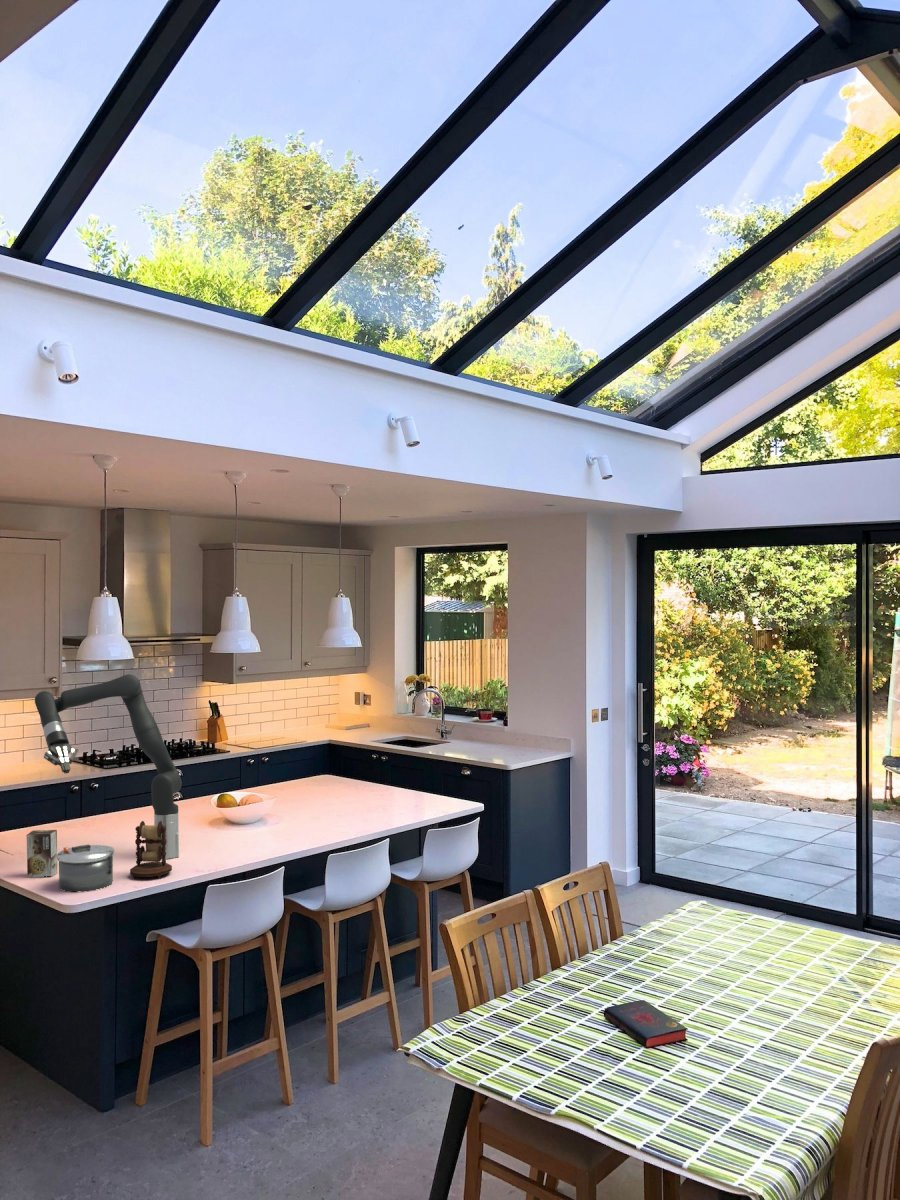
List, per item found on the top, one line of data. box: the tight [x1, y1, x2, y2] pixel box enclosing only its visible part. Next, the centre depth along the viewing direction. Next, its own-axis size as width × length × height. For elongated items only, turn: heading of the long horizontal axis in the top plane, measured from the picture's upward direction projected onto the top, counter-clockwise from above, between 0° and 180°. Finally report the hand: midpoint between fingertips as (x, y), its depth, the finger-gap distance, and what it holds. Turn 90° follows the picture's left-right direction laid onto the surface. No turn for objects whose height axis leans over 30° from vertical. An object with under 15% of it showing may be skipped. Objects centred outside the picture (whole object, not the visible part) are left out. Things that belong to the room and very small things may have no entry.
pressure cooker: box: [58, 855, 114, 892], centre depth 343 cm, size 19×18×10 cm
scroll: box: [129, 820, 173, 880], centre depth 354 cm, size 15×15×20 cm
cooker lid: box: [57, 844, 115, 863], centre depth 342 cm, size 19×19×3 cm
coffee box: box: [26, 829, 58, 878], centre depth 355 cm, size 9×6×16 cm
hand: (66, 772), depth 357 cm, fingers closed
